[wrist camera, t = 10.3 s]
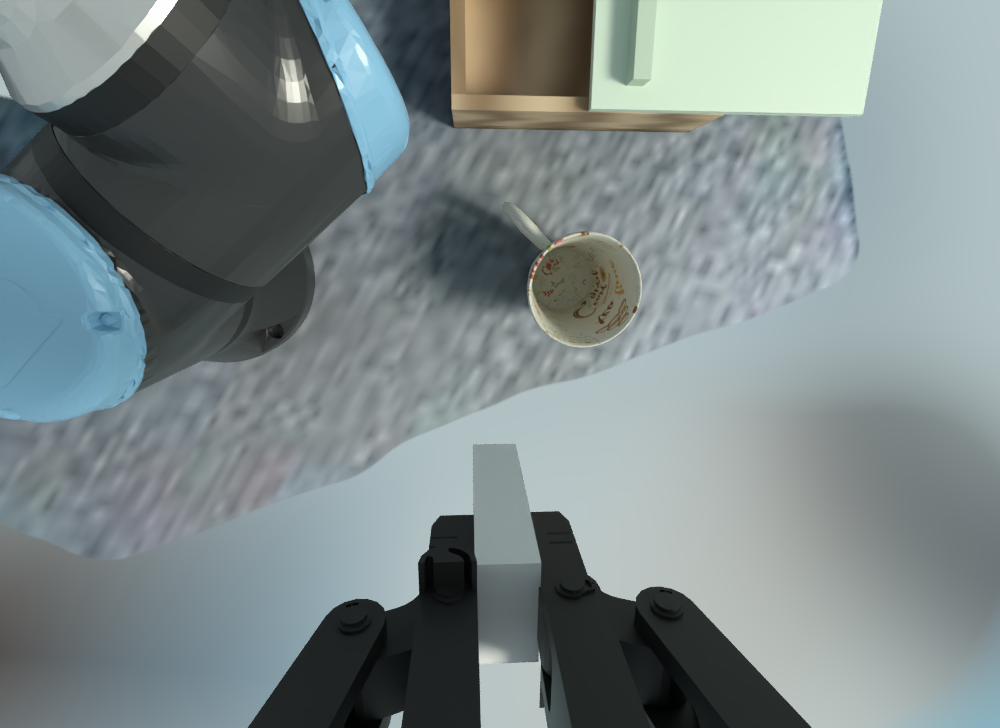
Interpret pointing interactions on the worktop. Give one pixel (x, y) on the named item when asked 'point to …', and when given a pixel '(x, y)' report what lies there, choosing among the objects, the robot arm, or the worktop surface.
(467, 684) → the robot arm
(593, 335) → the mug
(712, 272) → the worktop surface
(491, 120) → the lid box
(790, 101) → the lid
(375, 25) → the worktop surface
